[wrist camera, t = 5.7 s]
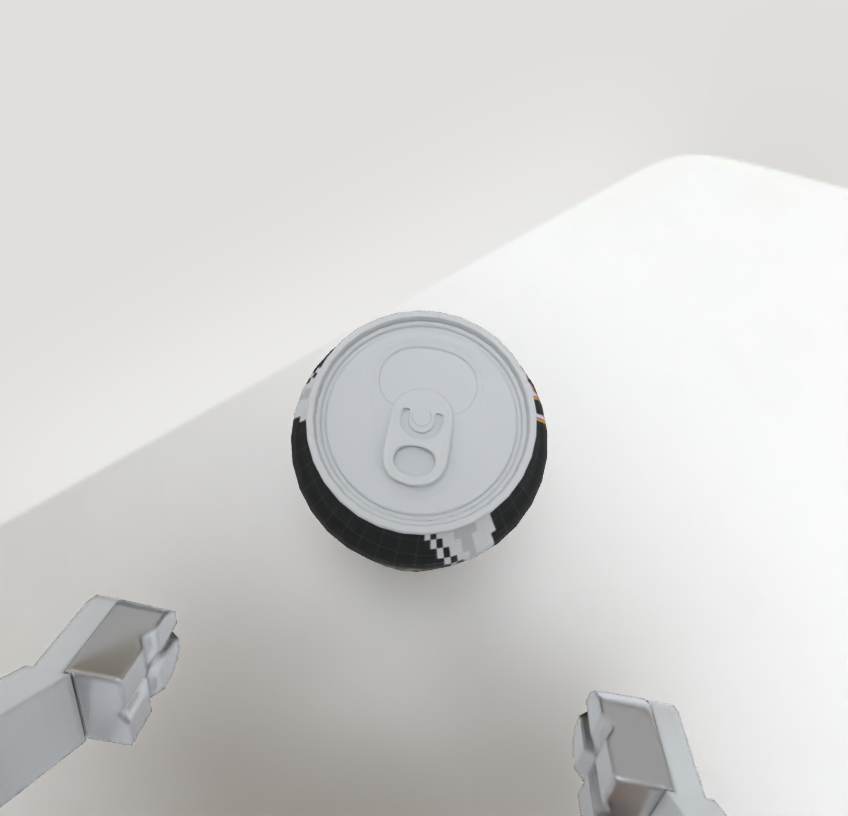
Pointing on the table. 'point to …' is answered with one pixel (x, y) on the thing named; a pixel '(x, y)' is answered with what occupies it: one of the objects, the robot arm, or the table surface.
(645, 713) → the robot arm
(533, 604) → the table surface
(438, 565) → the beverage can
